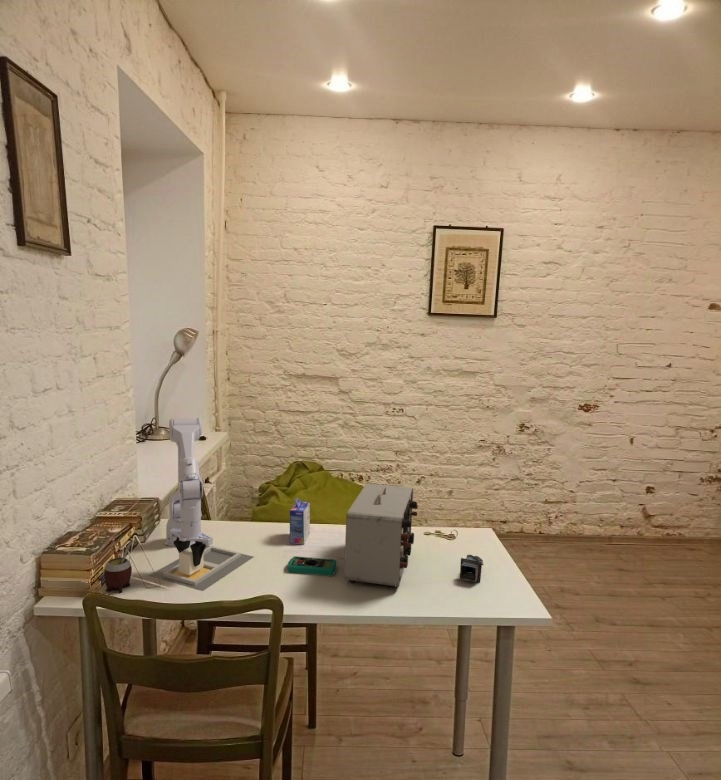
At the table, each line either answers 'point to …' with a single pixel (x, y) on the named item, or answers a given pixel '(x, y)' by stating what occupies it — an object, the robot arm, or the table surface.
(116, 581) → the mate gourd
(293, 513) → the ink cartridge box
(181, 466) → the robot arm
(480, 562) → the ethernet keystone jack
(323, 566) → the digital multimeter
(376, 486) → the vintage electronic device
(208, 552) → the grey flat tray
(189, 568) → the plug
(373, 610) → the table surface
